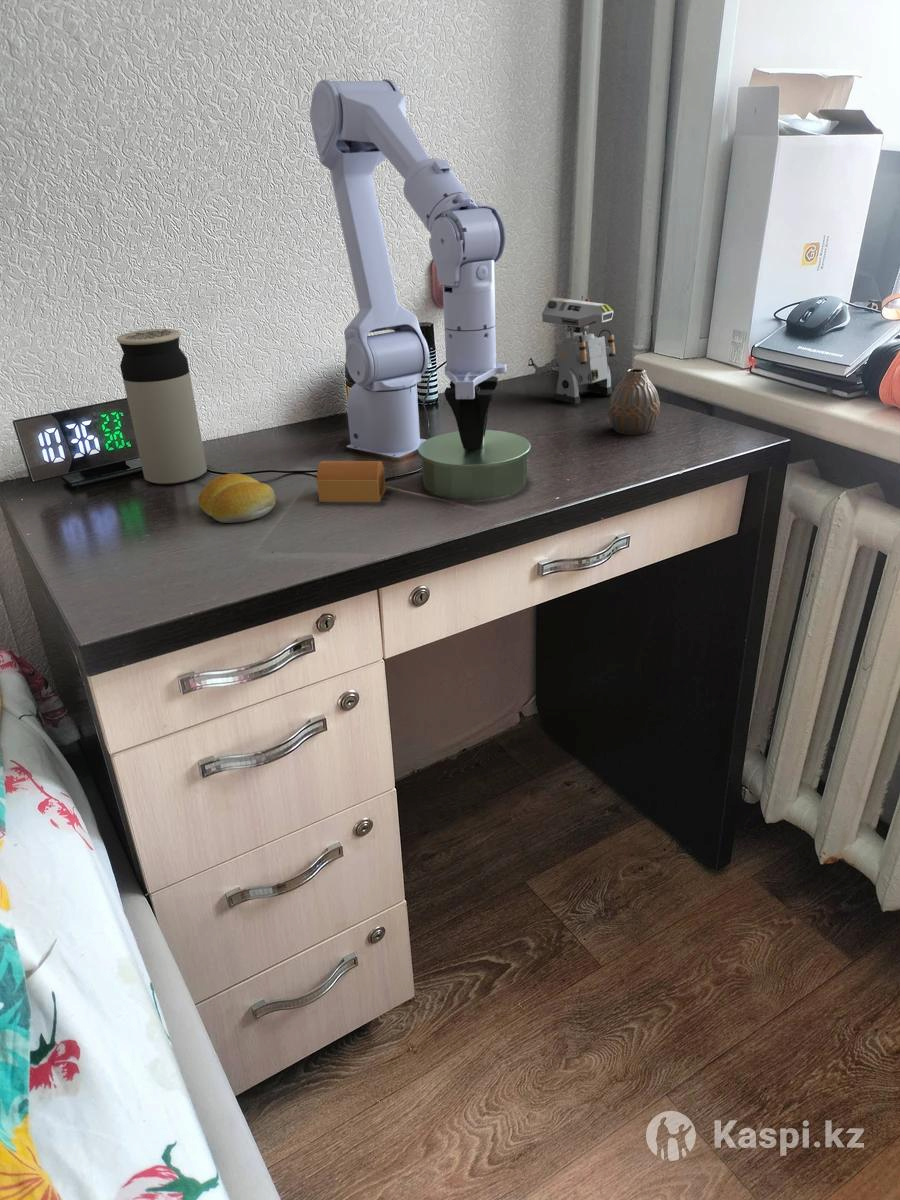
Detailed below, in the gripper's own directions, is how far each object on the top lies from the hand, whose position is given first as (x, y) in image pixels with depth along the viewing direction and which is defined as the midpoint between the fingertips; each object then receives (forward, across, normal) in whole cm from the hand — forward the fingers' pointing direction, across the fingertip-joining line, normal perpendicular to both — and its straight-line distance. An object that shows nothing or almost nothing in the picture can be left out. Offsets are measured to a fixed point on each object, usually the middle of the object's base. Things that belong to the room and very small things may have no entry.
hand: (473, 444), depth 104 cm
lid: (+1, 0, 0) cm, 1 cm away
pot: (+5, 0, 0) cm, 5 cm away
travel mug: (+5, +3, +40) cm, 40 cm away
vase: (+5, +21, -20) cm, 29 cm away
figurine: (+5, +40, -12) cm, 43 cm away
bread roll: (+5, -9, +27) cm, 29 cm away
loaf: (+5, -4, +14) cm, 16 cm away
